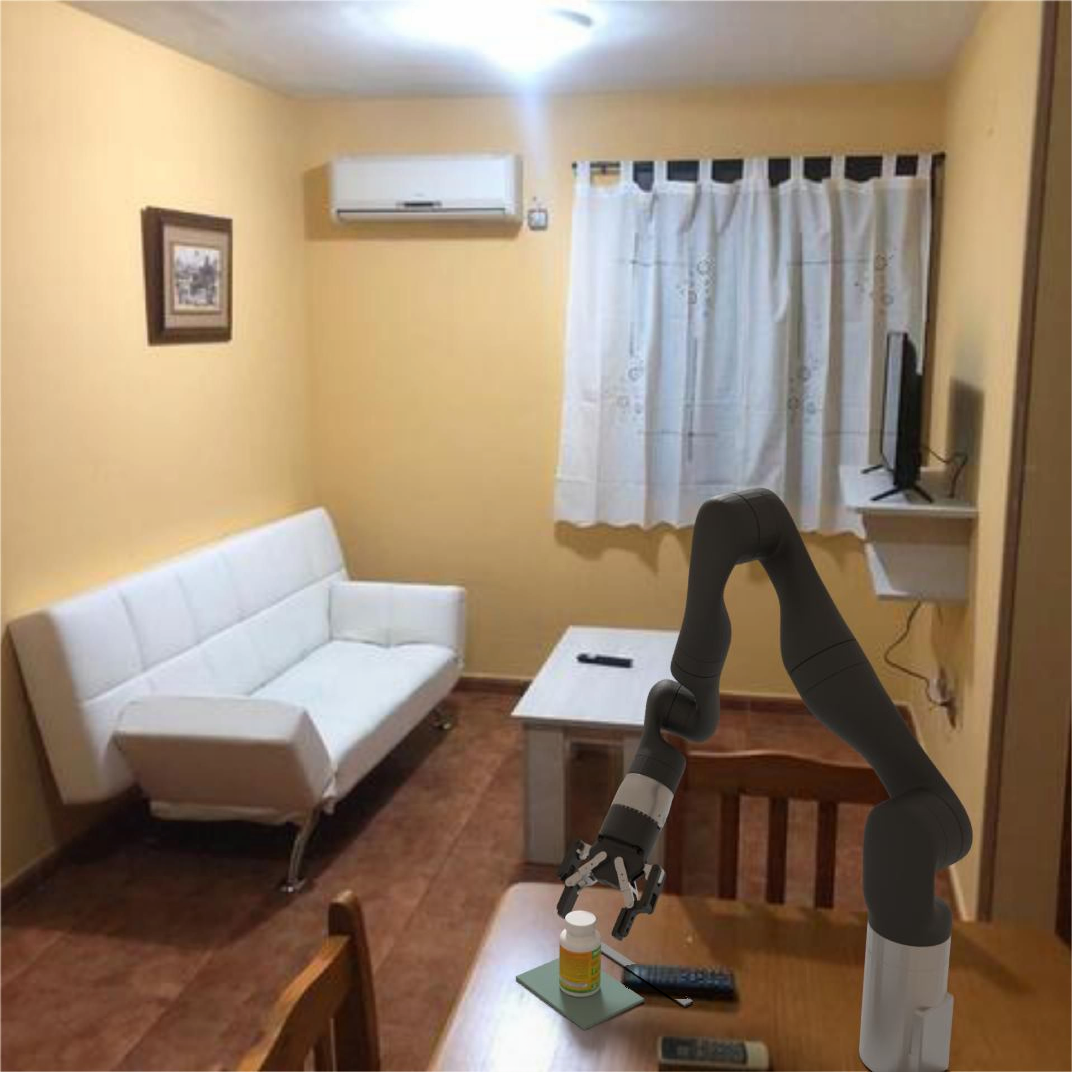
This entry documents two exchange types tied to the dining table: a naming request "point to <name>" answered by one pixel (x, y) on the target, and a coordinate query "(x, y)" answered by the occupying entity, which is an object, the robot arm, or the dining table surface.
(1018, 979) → the dining table surface
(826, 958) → the dining table surface
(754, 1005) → the dining table surface
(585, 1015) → the mat
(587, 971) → the supplement bottle
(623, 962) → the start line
